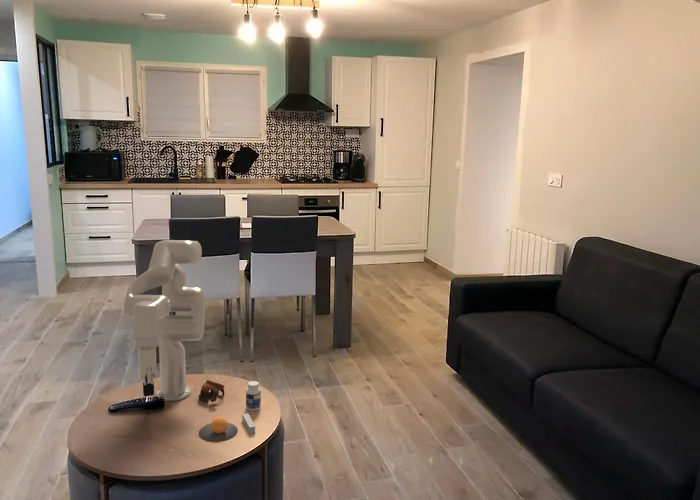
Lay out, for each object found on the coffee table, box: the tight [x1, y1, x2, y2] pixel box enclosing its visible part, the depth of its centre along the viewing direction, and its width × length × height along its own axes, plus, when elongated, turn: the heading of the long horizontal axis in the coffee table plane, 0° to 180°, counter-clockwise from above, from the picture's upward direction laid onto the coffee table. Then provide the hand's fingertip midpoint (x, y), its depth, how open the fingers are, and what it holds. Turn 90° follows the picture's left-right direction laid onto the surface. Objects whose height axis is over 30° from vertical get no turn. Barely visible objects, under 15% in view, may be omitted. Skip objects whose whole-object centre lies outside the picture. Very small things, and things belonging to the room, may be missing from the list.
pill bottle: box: [245, 380, 262, 411], centre depth 213 cm, size 5×5×10 cm
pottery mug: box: [197, 379, 226, 405], centre depth 219 cm, size 12×10×8 cm
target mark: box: [198, 422, 239, 443], centre depth 196 cm, size 13×13×1 cm
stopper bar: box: [242, 412, 256, 435], centre depth 200 cm, size 10×2×2 cm, turn 24°
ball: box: [211, 416, 229, 434], centre depth 195 cm, size 6×6×6 cm
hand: (148, 394), depth 184 cm, fingers closed
